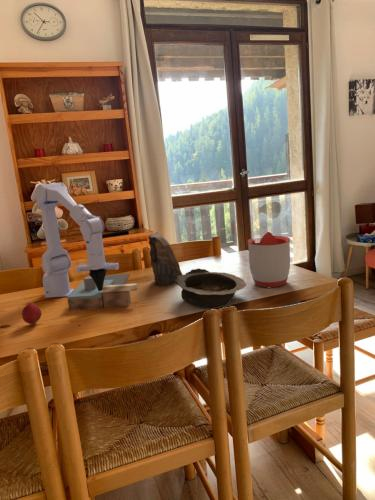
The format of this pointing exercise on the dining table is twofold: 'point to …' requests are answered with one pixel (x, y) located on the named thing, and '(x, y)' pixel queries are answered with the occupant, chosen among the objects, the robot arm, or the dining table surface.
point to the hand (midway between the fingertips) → (100, 289)
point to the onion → (31, 313)
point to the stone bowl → (208, 287)
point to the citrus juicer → (269, 260)
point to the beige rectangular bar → (120, 288)
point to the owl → (163, 261)
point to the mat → (117, 278)
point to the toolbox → (102, 301)
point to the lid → (88, 289)
